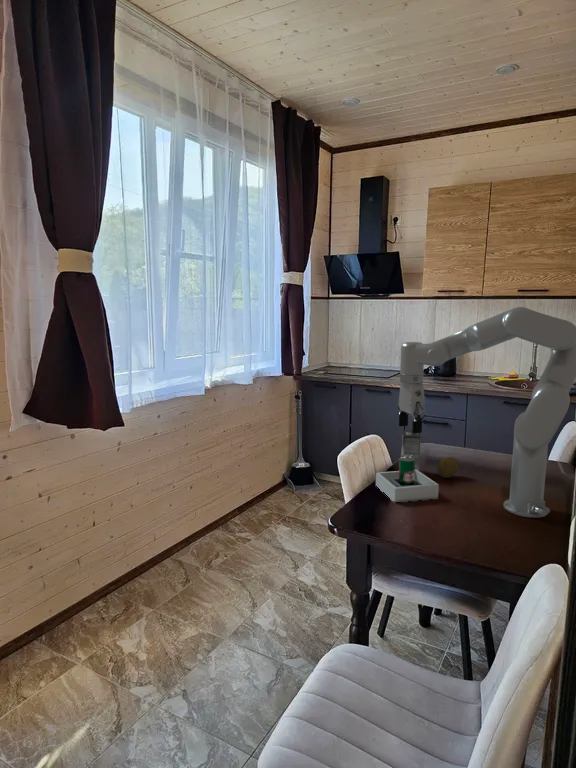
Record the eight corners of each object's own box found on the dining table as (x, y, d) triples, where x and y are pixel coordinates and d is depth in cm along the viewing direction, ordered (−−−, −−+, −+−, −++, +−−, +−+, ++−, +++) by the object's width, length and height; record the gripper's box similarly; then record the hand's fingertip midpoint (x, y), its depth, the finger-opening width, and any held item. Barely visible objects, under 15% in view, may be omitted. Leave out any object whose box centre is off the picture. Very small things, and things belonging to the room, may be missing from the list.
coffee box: (400, 469, 192) (401, 429, 189) (417, 470, 191) (418, 430, 188) (401, 477, 183) (403, 436, 180) (419, 478, 182) (421, 436, 179)
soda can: (403, 493, 165) (404, 459, 163) (396, 488, 170) (396, 455, 168) (416, 491, 167) (417, 457, 165) (409, 486, 171) (409, 453, 170)
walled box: (438, 498, 163) (438, 484, 162) (394, 503, 159) (395, 488, 158) (415, 482, 178) (416, 469, 177) (375, 486, 174) (376, 472, 173)
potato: (459, 475, 185) (460, 455, 183) (455, 482, 178) (457, 461, 177) (440, 473, 188) (441, 453, 187) (436, 479, 181) (437, 458, 180)
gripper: (435, 382, 155) (433, 435, 158) (409, 375, 172) (408, 422, 174) (413, 383, 153) (411, 436, 156) (389, 376, 170) (388, 424, 173)
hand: (409, 429), depth 165 cm, fingers open, 9 cm apart
